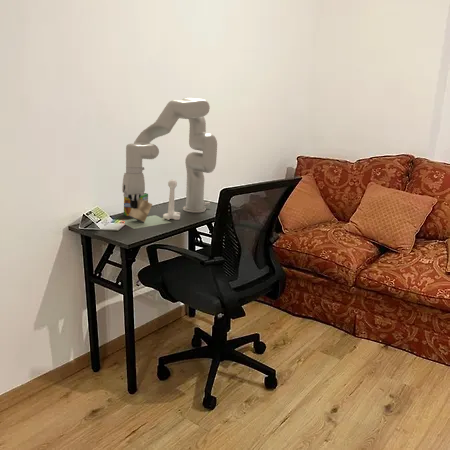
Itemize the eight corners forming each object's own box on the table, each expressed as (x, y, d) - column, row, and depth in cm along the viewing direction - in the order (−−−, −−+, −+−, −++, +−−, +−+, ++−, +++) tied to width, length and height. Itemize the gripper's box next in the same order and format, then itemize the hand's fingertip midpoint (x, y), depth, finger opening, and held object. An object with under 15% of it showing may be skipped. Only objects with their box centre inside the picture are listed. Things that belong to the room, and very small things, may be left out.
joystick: (173, 215, 249) (175, 177, 244) (185, 218, 246) (187, 179, 240) (160, 219, 239) (162, 180, 234) (173, 222, 236) (175, 182, 231)
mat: (155, 216, 246) (155, 215, 246) (171, 223, 235) (171, 222, 235) (118, 221, 233) (118, 220, 233) (133, 229, 222) (133, 228, 222)
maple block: (137, 219, 236) (146, 201, 237) (144, 222, 232) (152, 204, 232) (128, 215, 232) (136, 197, 233) (134, 218, 228) (143, 199, 228)
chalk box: (123, 215, 243) (123, 187, 239) (133, 212, 251) (133, 184, 247) (138, 218, 240) (138, 190, 235) (148, 214, 248) (148, 187, 243)
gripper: (143, 168, 232) (143, 204, 237) (115, 169, 222) (116, 207, 228) (151, 170, 226) (151, 207, 231) (123, 172, 217) (123, 211, 222)
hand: (133, 207), depth 229 cm, fingers closed
